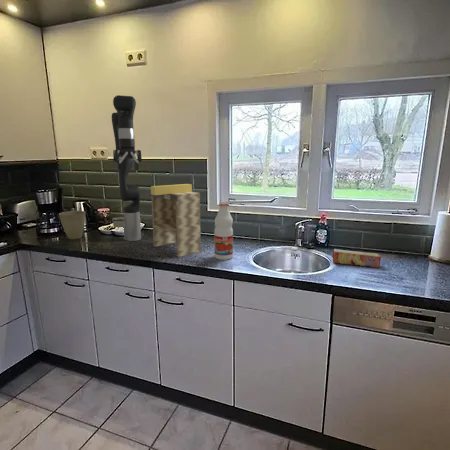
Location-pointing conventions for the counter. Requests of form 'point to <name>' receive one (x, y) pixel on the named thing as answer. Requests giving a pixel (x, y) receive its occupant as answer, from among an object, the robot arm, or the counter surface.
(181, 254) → the beige zigzag patterned stand
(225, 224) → the fruit juice
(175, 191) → the spaghetti box
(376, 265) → the snack package
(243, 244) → the counter surface
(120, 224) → the food container
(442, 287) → the counter surface
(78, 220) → the plant pot
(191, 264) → the counter surface
